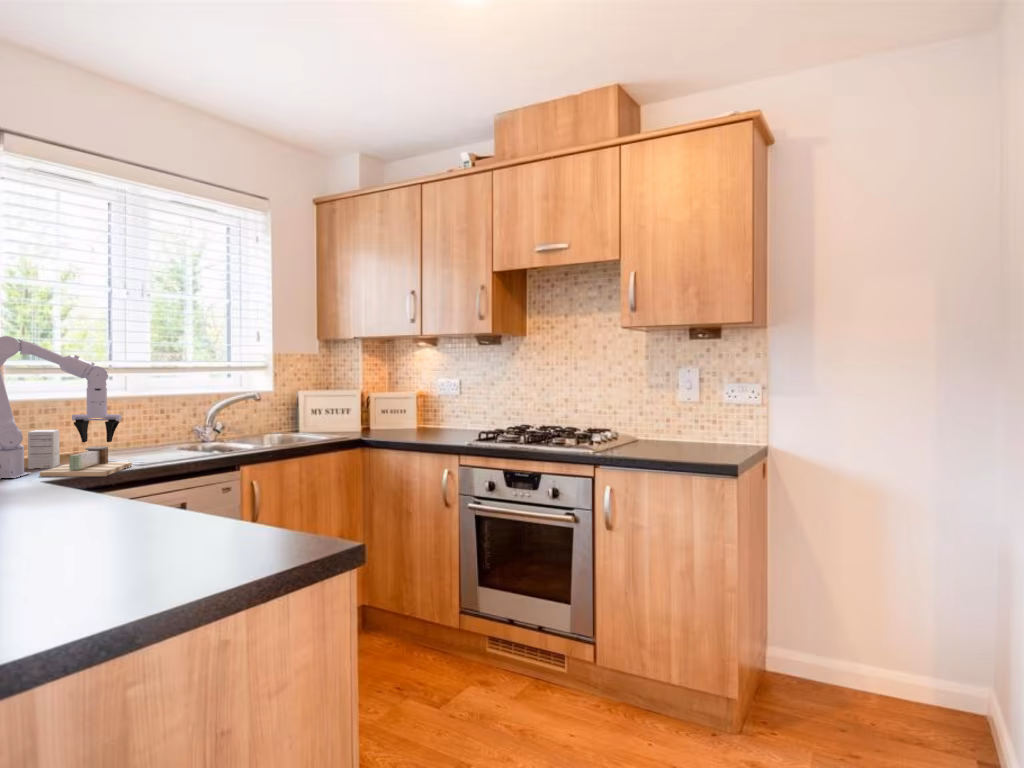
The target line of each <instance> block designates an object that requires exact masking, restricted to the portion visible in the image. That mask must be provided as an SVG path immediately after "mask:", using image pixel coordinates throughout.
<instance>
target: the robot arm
mask: <svg viewBox="0 0 1024 768" xmlns="http://www.w3.org/2000/svg"><path fill="white" fill-rule="evenodd" d="M18 353H19V355H28V356H29V355H32V356H35V357H37V358H39V359H43V360H45V361H48V362H51V363H53V364H56V365H58V366H59V367H60V370H61V372H65V373H67V374H69V375H72V376H75V377H77V378H80V379H86V380H87V382H86V383H87V384H86V385H87V387H86V414H71V421H73V425H74V426H75V428H76V429H77V431H78V433H79V437H80V440H81V443H86V442H88V439H89V438H88V429H89V424H90V421H104V425H105V429H106V443H111V442H113V438H114V435H115V432H116V429H117V428H118V425H120V421H122V414H114V413H113V414H111V413H110V414H108V388H107V380H108V378H109V374H108V372H107V370H106V369H105V368H104V367H102V366H99V365H95V364H96V363H95V362H93V361H92V362H89V361H86V360H84V359H81V358H80V355H77V354H74V355H72V354H70V355H69V354H68V355H65V356H63V355H61V354H58V353H56V352H55V351H53V350H52V351H51V350H49V349H47V348H45V347H43V346H40V345H38V344H35V343H33V342H30V341H27V340H23V339H16V338H15V337H13V336H10V335H4V336H0V368H1V367H2V366H3V365H4V364H5V363H6V361H7V360H8V359H10V358H12V357H13V356H15V355H16V354H18ZM23 436H24V435H23V432H22V431H21V429H20V428H19V427H18V426H17V424H16V421H15V417H14V414H13V411H12V407H11V404H10V401H9V397H8V392H7V389H6V386H5V382H4V379H3V376H2V372H1V370H0V480H2V479H1V478H14V479H17V478H19V477H20V476H21V477H24V476H27V474H28V475H31V472H29V471H28V472H27V471H26V472H25V445H22V442H23V439H24V437H23ZM16 477H17V478H16Z"/></svg>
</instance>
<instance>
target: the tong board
mask: <svg viewBox="0 0 1024 768" xmlns="http://www.w3.org/2000/svg"><path fill="white" fill-rule="evenodd" d="M90 450H100V463H99V464H96V465H92V466H89V467H86V468H83V469H80V470H69V463H65V464H63V465H58V466H56V467H54V468H47V469H45V470H42V471H39V477H40V476H68V477H107V476H109V475H113V474H115V473H119V472H120V470H121V471H123V470H122V469H124V468H126V467H129V466H131V465H132V466H133V462H132V461H127V462H126V461H117V462H116V461H111V462H109V446H90V447H85V451H90ZM129 468H130V467H129ZM126 469H127V468H126ZM124 470H125V469H124Z"/></svg>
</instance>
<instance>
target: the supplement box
mask: <svg viewBox="0 0 1024 768" xmlns="http://www.w3.org/2000/svg"><path fill="white" fill-rule="evenodd" d="M59 466H60V429H34V430H32V431H27V469H31V470H33V469H34V468H40V469H52V468H55V467H59Z"/></svg>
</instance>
